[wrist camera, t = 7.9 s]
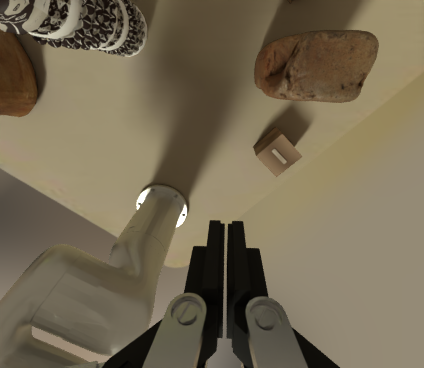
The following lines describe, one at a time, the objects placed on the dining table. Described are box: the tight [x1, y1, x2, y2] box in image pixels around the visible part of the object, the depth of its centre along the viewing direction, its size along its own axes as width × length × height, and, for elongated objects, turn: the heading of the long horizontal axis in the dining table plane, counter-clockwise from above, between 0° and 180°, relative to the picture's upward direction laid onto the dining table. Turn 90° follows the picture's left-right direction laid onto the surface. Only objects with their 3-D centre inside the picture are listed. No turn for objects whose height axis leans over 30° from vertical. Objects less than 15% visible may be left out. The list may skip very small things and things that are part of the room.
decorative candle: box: [0, 0, 147, 57], centre depth 28 cm, size 9×9×25 cm
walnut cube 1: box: [253, 127, 302, 177], centre depth 44 cm, size 6×6×6 cm
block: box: [254, 30, 379, 103], centre depth 31 cm, size 11×8×20 cm
